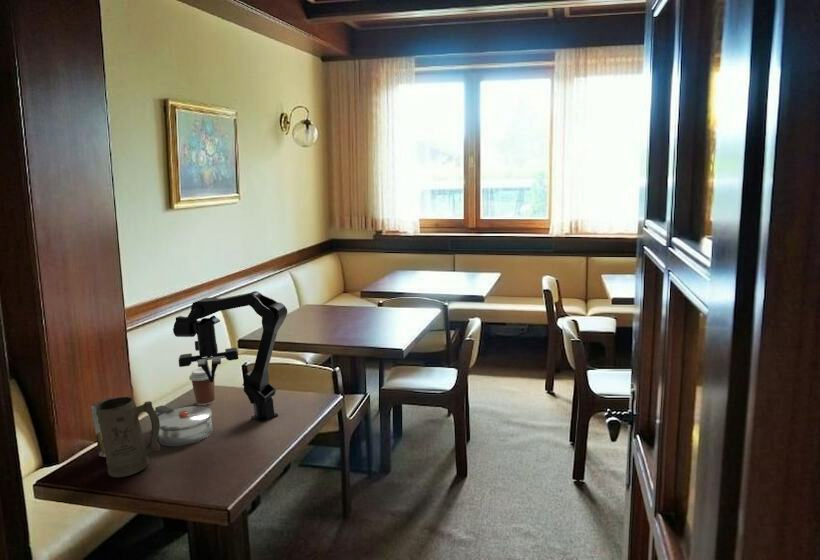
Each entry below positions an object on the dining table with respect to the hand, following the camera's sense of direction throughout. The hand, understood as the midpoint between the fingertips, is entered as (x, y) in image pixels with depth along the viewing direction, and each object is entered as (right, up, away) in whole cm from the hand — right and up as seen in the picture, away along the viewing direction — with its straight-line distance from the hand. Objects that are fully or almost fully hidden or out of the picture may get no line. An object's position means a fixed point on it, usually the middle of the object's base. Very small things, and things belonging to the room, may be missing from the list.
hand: (211, 381), depth 215 cm
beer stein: (-11, -19, -34) cm, 40 cm away
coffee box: (-21, -18, -24) cm, 36 cm away
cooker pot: (-7, -15, -11) cm, 19 cm away
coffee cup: (-7, -10, +16) cm, 20 cm away
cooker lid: (-7, -9, -12) cm, 17 cm away
